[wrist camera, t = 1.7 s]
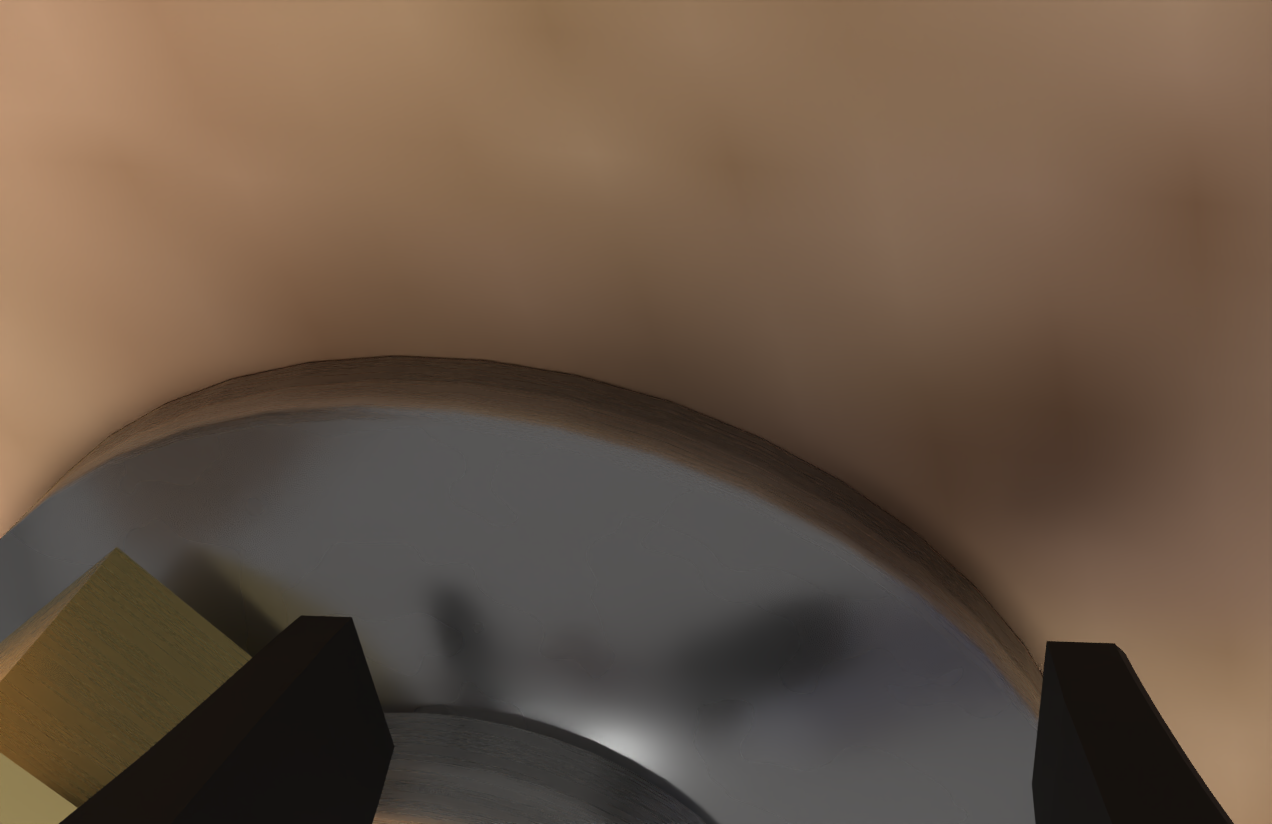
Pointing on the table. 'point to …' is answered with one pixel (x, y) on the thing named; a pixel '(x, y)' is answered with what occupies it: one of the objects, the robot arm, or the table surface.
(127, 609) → the ring nut
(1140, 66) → the table surface
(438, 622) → the flange plate
